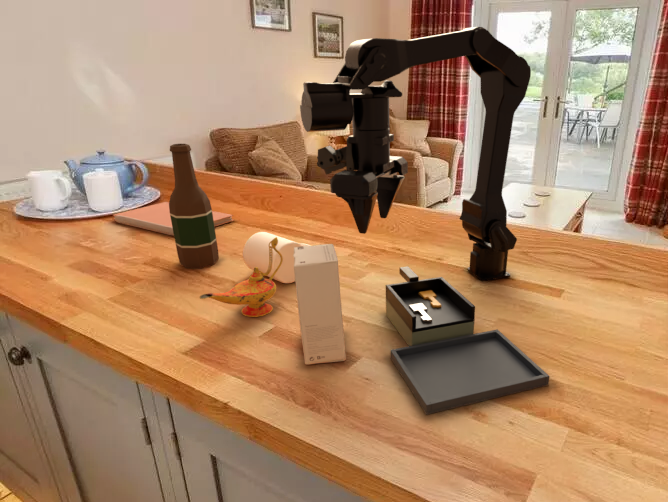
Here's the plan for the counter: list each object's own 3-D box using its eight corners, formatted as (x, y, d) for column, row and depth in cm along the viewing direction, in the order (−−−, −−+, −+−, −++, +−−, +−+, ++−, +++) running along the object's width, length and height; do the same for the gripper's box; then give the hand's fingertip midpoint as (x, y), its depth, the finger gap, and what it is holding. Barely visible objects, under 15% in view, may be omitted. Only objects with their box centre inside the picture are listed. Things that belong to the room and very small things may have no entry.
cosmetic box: (346, 361, 68) (341, 262, 62) (302, 366, 67) (293, 265, 61) (340, 332, 76) (335, 241, 70) (300, 336, 75) (292, 244, 69)
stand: (385, 314, 81) (385, 298, 80) (440, 305, 85) (441, 290, 84) (411, 350, 71) (412, 332, 70) (473, 338, 74) (474, 321, 73)
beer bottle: (171, 265, 101) (147, 145, 91) (199, 253, 107) (179, 140, 98) (200, 271, 98) (179, 148, 88) (227, 258, 105) (210, 143, 95)
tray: (496, 337, 75) (497, 329, 74) (548, 385, 64) (549, 376, 63) (390, 358, 69) (390, 349, 69) (426, 414, 58) (426, 405, 57)
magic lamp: (191, 333, 75) (178, 266, 71) (271, 290, 90) (264, 232, 86) (224, 343, 72) (213, 275, 68) (301, 297, 87) (295, 238, 83)
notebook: (110, 222, 129) (108, 214, 128) (166, 207, 142) (165, 200, 141) (179, 238, 117) (177, 230, 116) (234, 221, 130) (233, 214, 129)
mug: (275, 289, 90) (271, 248, 87) (244, 275, 96) (239, 236, 93) (325, 270, 99) (322, 232, 96) (294, 259, 105) (291, 223, 102)
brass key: (418, 294, 81) (418, 291, 81) (431, 292, 82) (431, 289, 81) (432, 308, 76) (432, 306, 76) (445, 306, 77) (445, 304, 77)
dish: (376, 287, 84) (376, 270, 83) (429, 279, 88) (430, 263, 87) (412, 332, 70) (412, 313, 69) (474, 321, 73) (475, 302, 72)
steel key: (408, 307, 76) (408, 304, 76) (421, 305, 77) (421, 302, 77) (422, 323, 71) (422, 321, 71) (436, 321, 72) (436, 318, 72)
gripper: (348, 121, 87) (352, 207, 93) (294, 133, 70) (303, 237, 77) (408, 123, 83) (408, 212, 90) (365, 136, 67) (369, 244, 73)
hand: (373, 225), depth 82 cm, fingers open, 9 cm apart
